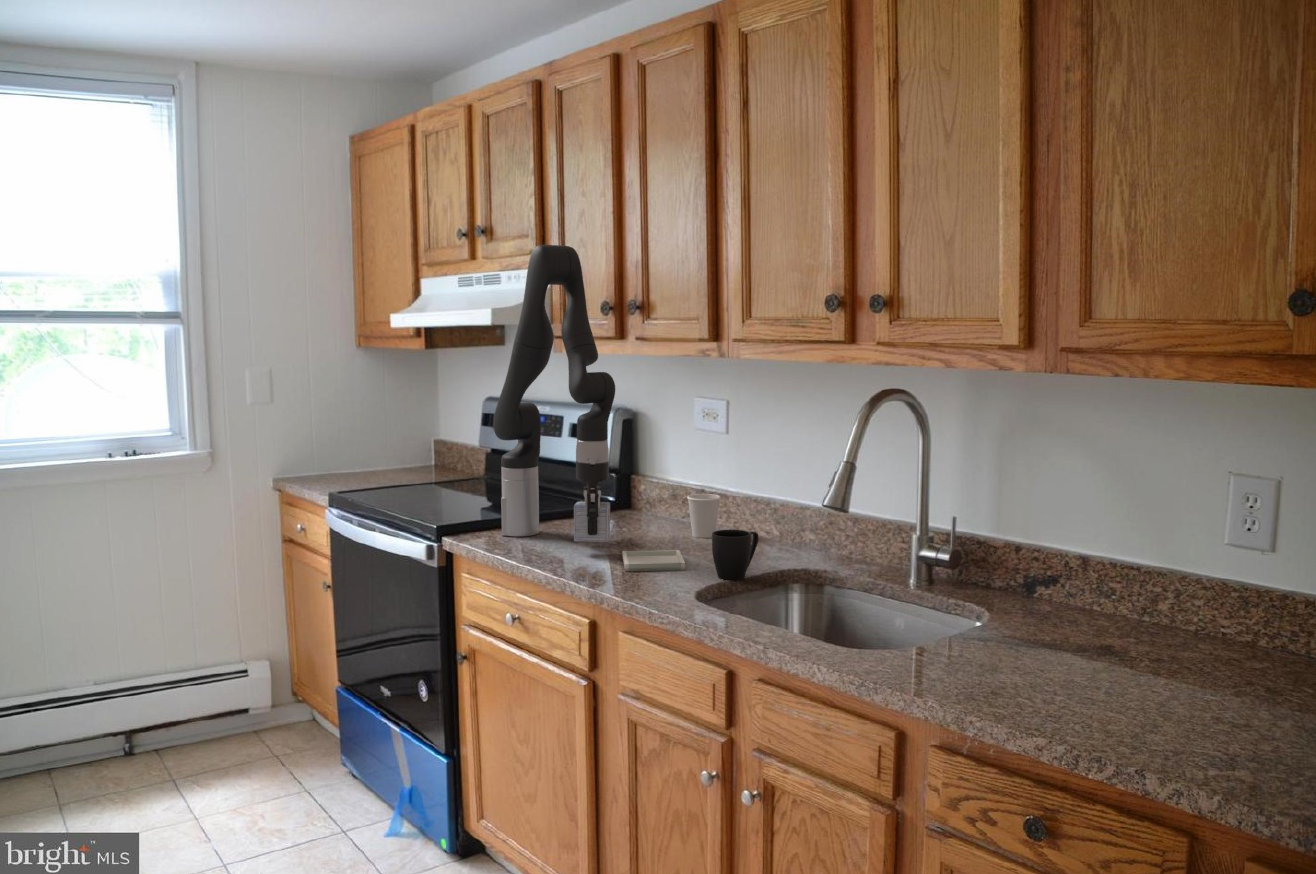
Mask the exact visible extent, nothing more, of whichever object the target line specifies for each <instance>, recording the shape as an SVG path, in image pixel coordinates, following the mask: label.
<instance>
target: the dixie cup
mask: <svg viewBox="0 0 1316 874" xmlns="http://www.w3.org/2000/svg"><path fill="white" fill-rule="evenodd" d="M721 498H722V497H721V495H719V494H714V493H712V494H711V493H694V494H688V495H687V502H688V509H689V511H688V512H689V517H690V518H689V519H690V525H691V534H692V537H694V538H697V539H712V533H713V532H715V531H717V523H718V514H719V507H720V500H721Z"/></svg>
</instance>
